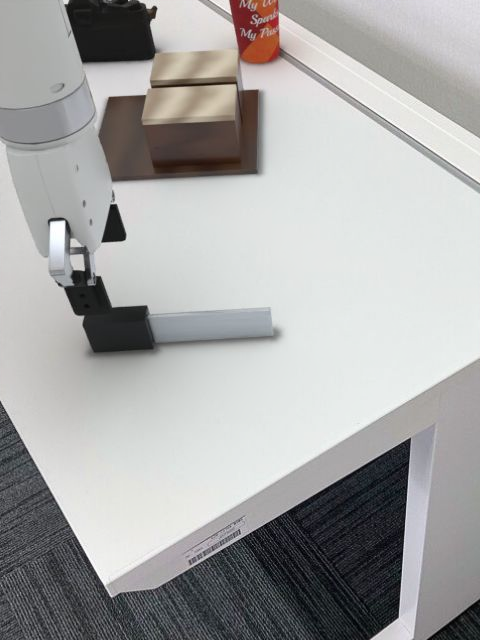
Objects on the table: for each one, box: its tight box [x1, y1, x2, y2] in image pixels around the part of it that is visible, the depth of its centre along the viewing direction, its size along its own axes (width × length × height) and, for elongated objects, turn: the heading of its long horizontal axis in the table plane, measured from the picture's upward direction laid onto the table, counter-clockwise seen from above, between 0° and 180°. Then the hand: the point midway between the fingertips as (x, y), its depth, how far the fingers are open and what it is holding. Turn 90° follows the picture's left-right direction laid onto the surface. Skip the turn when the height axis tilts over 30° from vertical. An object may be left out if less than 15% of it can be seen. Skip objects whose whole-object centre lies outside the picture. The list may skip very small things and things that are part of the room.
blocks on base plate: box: [98, 48, 260, 182], centre depth 99 cm, size 21×19×8 cm
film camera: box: [64, 0, 158, 64], centre depth 114 cm, size 18×12×10 cm
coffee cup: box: [228, 0, 281, 64], centre depth 110 cm, size 8×8×15 cm
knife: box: [82, 305, 275, 354], centre depth 76 cm, size 18×2×4 cm, turn 94°
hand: (102, 274), depth 70 cm, fingers open, 9 cm apart
